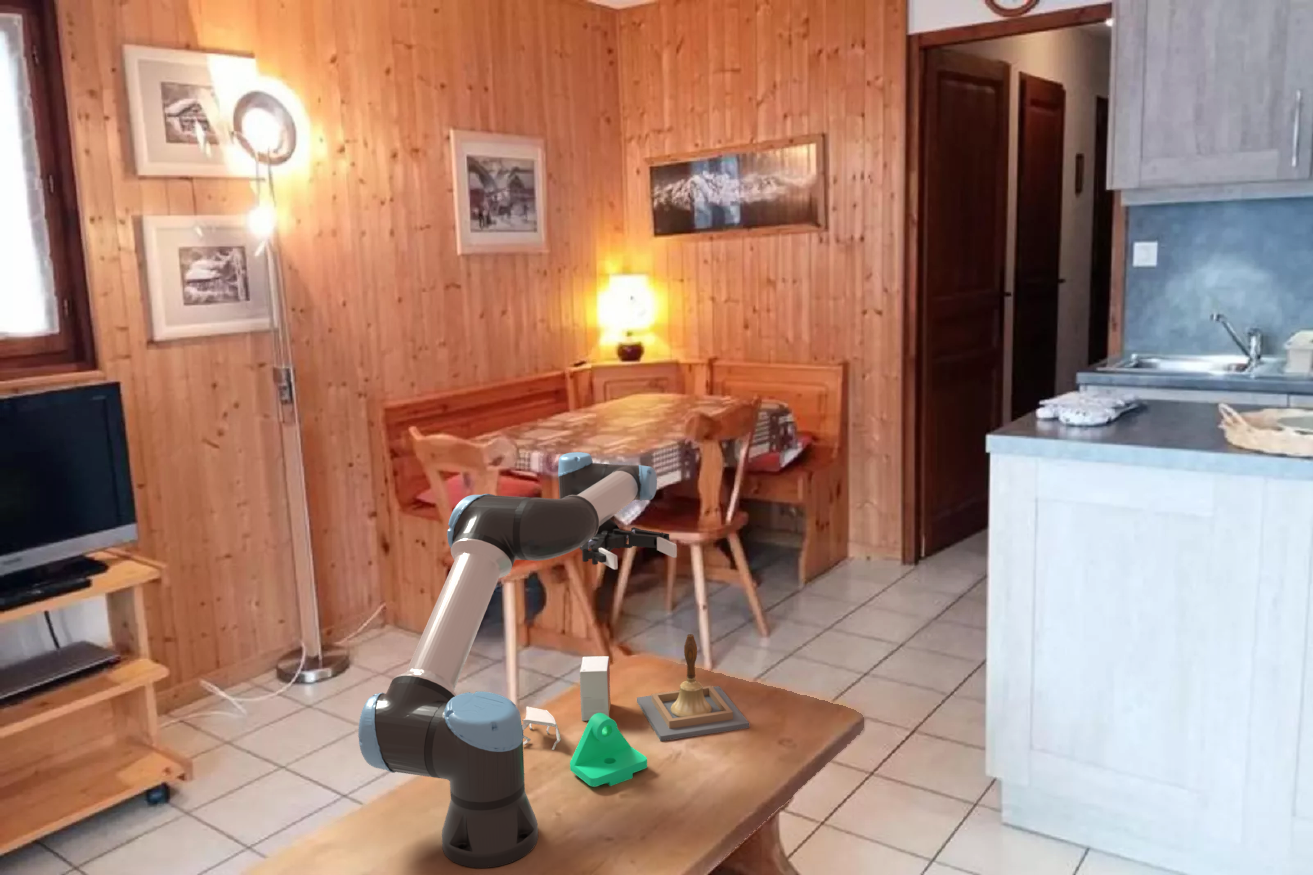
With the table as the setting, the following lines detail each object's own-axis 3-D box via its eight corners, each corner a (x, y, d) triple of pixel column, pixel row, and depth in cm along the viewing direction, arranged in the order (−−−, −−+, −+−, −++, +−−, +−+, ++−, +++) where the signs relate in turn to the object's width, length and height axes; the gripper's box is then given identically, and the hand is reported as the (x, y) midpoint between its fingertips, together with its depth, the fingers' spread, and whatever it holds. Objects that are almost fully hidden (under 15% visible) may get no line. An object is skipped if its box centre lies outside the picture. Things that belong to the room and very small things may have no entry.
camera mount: (592, 793, 179) (590, 738, 177) (570, 775, 185) (568, 722, 183) (649, 772, 186) (648, 719, 184) (626, 756, 192) (624, 704, 190)
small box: (609, 721, 206) (607, 671, 204) (580, 721, 206) (579, 671, 204) (611, 703, 214) (609, 655, 212) (584, 703, 214) (582, 655, 212)
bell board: (660, 741, 197) (660, 729, 197) (636, 702, 214) (636, 690, 214) (749, 727, 202) (749, 715, 201) (719, 690, 219) (719, 679, 218)
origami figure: (503, 742, 198) (501, 718, 197) (532, 725, 205) (531, 702, 204) (550, 758, 192) (549, 733, 191) (579, 740, 198) (578, 716, 197)
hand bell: (720, 711, 207) (719, 636, 204) (686, 723, 202) (685, 645, 199) (695, 697, 213) (694, 623, 210) (662, 708, 209) (660, 633, 206)
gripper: (647, 540, 231) (698, 564, 213) (544, 559, 218) (590, 586, 200) (646, 507, 229) (698, 528, 211) (543, 524, 217) (589, 548, 199)
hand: (646, 556), depth 206 cm, fingers open, 13 cm apart
